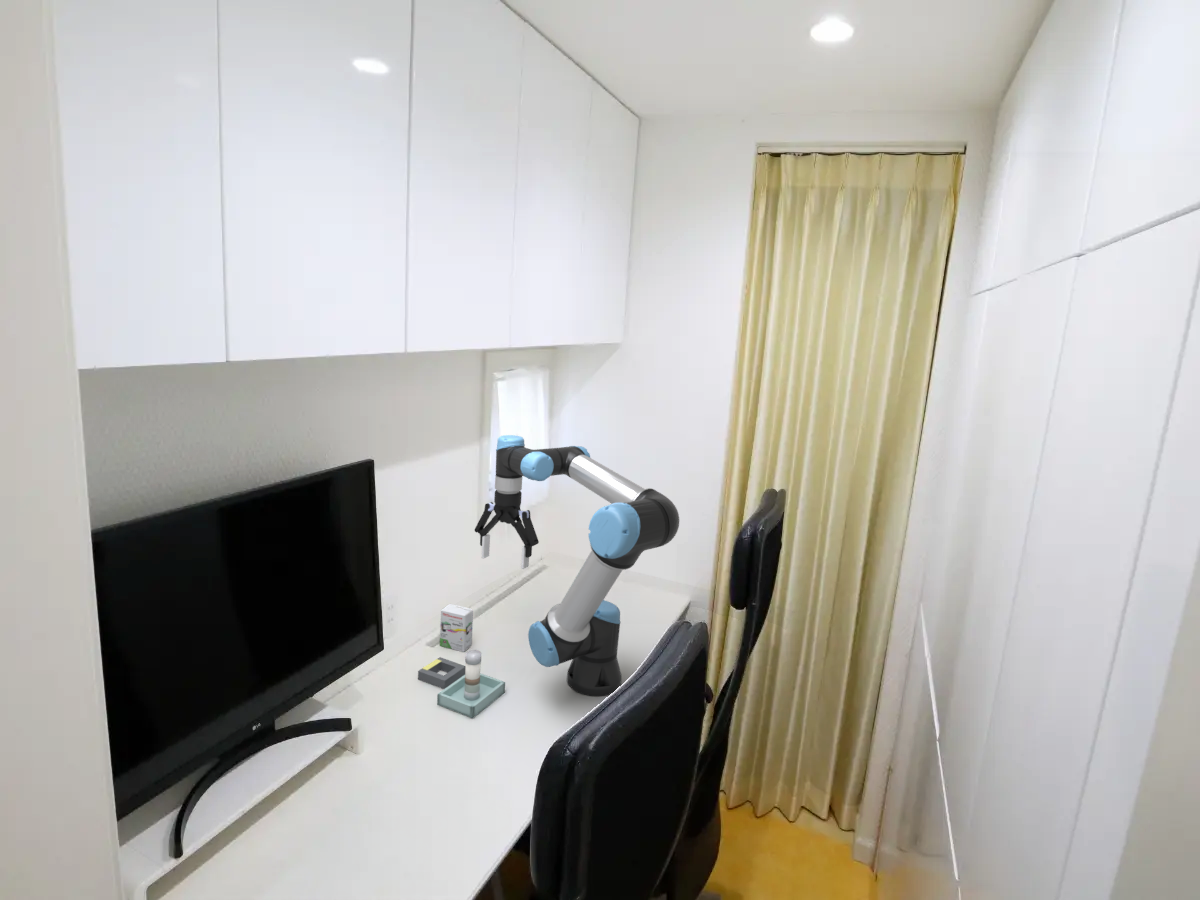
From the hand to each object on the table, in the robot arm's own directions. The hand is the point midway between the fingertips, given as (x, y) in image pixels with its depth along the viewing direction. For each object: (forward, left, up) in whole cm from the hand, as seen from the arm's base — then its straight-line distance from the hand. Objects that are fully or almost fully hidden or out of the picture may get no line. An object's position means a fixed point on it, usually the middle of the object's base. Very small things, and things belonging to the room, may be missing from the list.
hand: (504, 562), depth 190 cm
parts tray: (-7, +23, -29) cm, 37 cm away
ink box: (+14, +3, -29) cm, 32 cm away
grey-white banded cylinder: (-7, +23, -28) cm, 37 cm away
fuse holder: (+6, +19, -29) cm, 35 cm away
